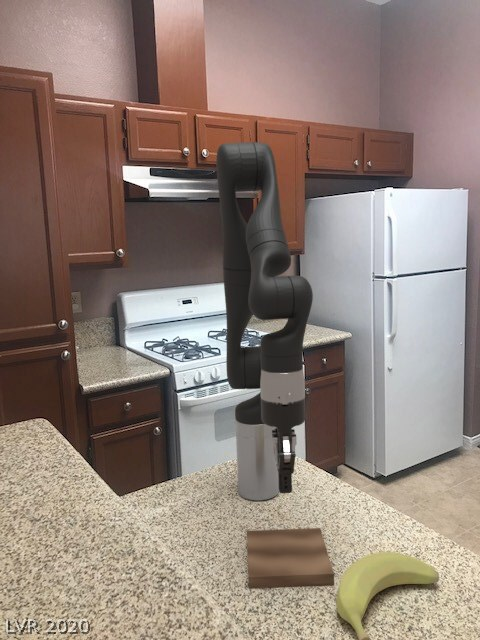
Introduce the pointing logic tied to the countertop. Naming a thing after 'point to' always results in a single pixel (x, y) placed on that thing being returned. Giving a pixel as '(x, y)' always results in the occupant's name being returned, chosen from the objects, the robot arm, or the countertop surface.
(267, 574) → the walnut board
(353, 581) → the banana
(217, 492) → the countertop surface
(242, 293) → the robot arm
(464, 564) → the countertop surface
